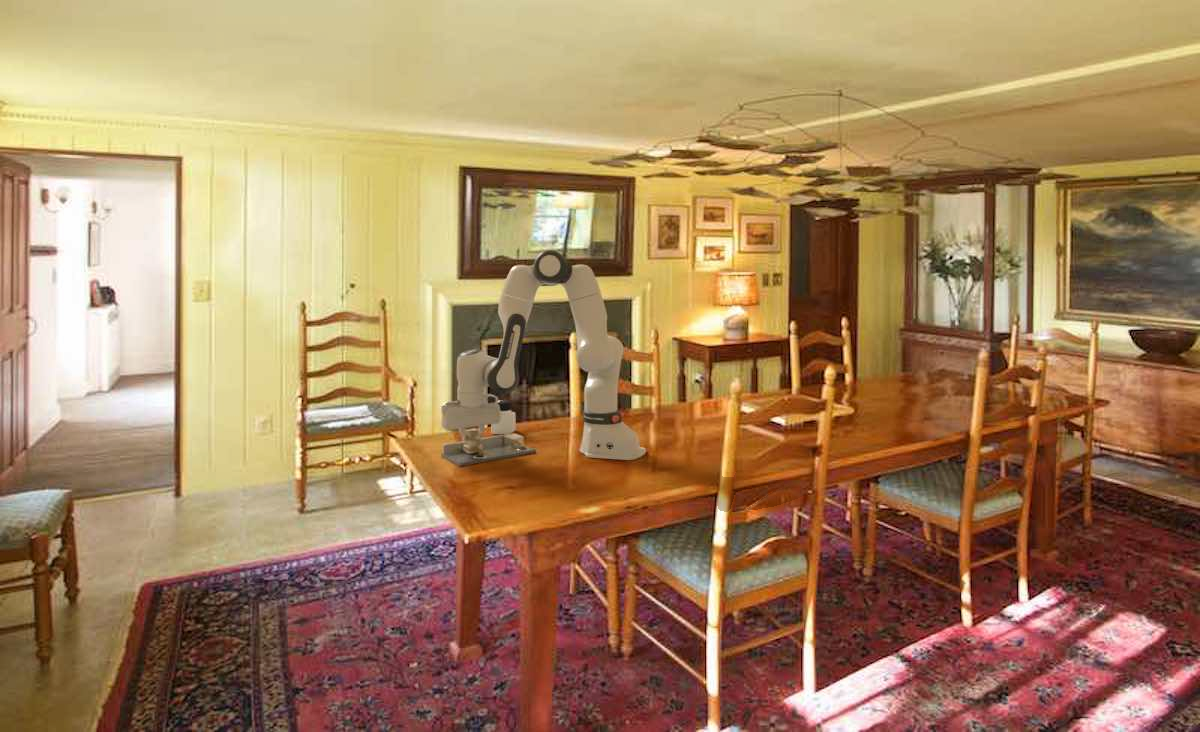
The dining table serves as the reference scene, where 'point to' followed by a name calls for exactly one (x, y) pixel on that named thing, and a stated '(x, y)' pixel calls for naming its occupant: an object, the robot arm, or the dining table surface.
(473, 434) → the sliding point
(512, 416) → the medicine bottle
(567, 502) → the dining table surface
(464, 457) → the divider plate
